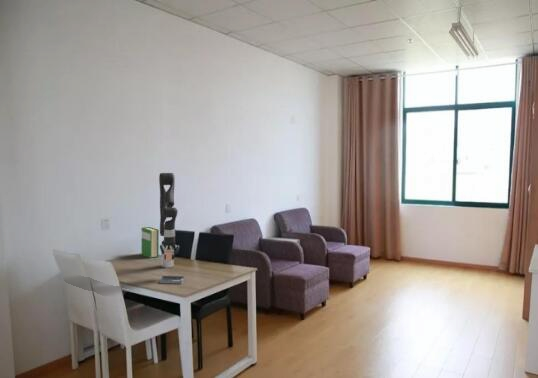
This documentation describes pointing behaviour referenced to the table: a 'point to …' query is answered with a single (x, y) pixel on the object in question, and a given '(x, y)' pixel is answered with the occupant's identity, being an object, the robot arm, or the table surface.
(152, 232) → the hardback book
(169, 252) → the salmon pink block
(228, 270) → the table surface
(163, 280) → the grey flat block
